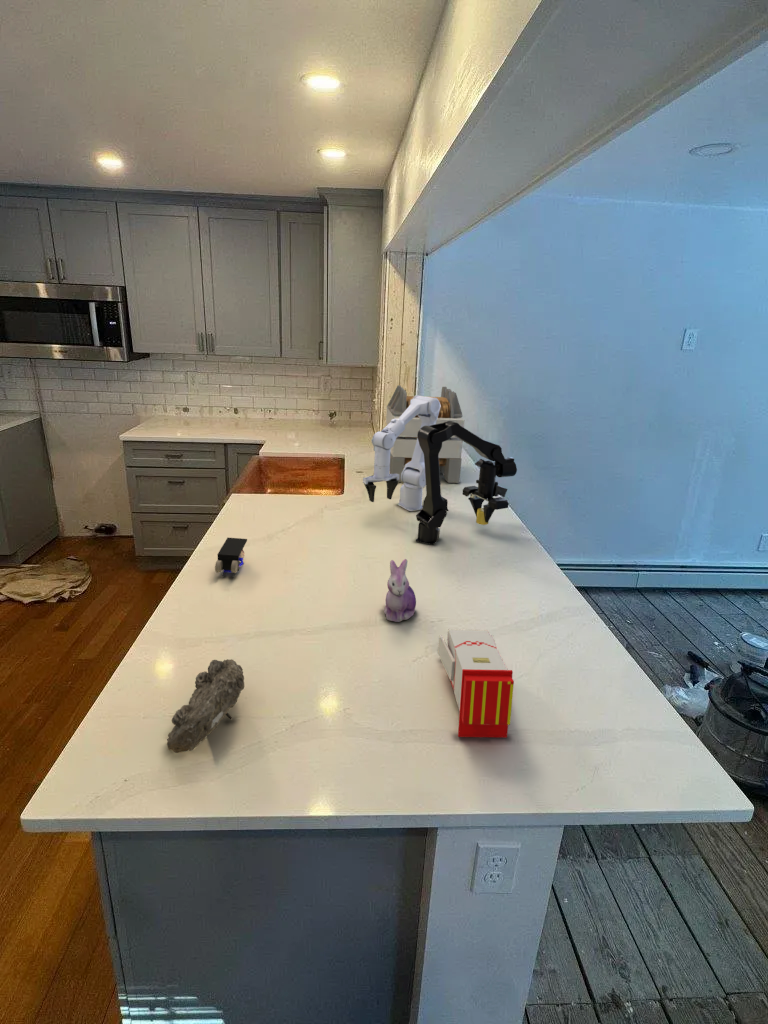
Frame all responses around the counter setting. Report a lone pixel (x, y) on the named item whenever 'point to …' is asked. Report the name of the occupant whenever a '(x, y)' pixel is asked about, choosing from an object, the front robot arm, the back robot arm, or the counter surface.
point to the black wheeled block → (230, 556)
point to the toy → (478, 682)
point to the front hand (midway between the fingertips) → (482, 520)
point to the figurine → (399, 594)
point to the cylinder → (481, 517)
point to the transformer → (408, 438)
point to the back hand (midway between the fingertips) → (380, 499)
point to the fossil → (206, 705)
